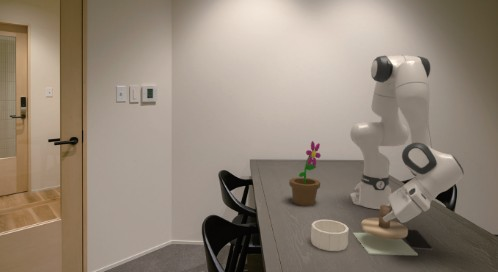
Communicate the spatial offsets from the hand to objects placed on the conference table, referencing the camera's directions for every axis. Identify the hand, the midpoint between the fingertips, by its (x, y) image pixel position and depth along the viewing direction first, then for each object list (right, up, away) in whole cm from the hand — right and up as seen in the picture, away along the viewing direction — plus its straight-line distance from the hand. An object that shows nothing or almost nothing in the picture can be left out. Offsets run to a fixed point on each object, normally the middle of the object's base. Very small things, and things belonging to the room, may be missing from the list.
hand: (382, 217), depth 116 cm
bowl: (-19, -9, 0) cm, 21 cm away
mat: (0, -10, +1) cm, 9 cm away
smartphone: (+13, -10, +5) cm, 17 cm away
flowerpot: (-20, -4, +43) cm, 48 cm away
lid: (+1, -4, +1) cm, 4 cm away
